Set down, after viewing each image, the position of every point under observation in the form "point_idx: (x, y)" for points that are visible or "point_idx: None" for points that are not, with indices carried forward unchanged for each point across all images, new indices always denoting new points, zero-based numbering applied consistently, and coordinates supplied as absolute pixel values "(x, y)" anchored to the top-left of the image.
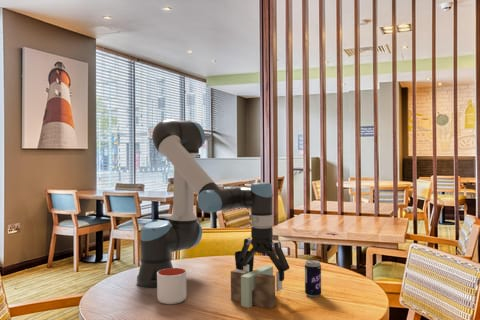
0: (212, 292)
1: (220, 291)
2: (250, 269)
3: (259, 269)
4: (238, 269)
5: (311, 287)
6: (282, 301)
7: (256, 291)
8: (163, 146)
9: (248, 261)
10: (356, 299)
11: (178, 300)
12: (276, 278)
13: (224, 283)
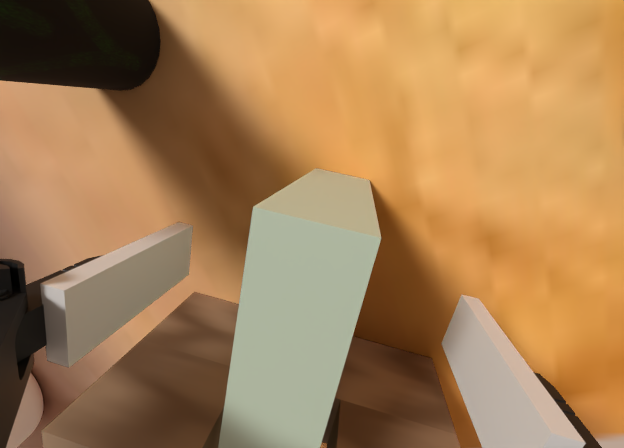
0: (62, 261)
1: (84, 235)
2: (56, 15)
3: (258, 411)
4: (73, 442)
5: None
6: (457, 286)
7: (328, 437)
8: None
9: (12, 331)
10: None
11: (34, 428)
12: (474, 426)
13: (15, 92)
